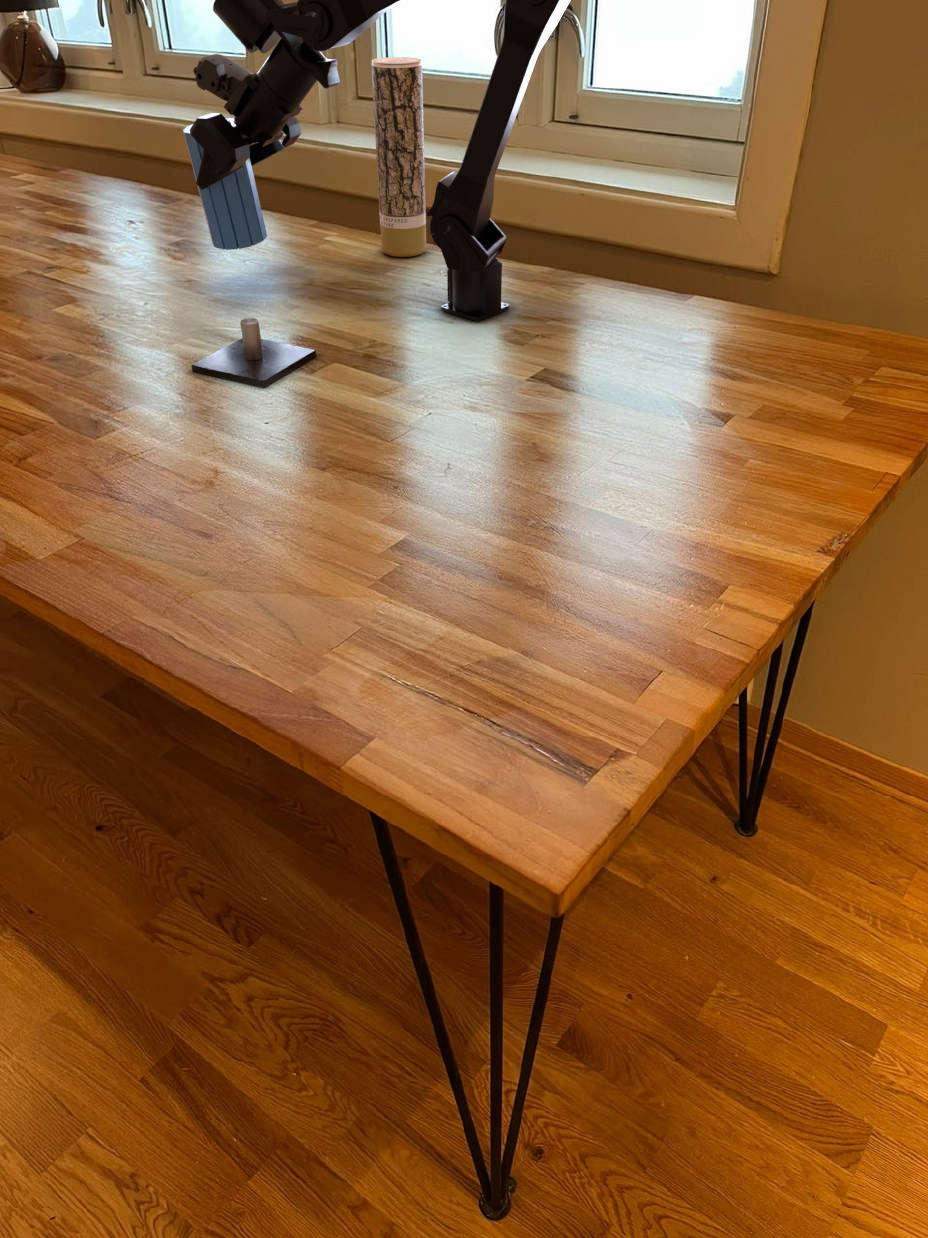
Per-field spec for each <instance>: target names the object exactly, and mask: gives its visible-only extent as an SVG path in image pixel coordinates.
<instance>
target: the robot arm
mask: <svg viewBox="0 0 928 1238" xmlns="http://www.w3.org/2000/svg"><path fill="white" fill-rule="evenodd" d="M405 2H407V0H297V1H294V2H289V3H285V2H284V1H283V0H214V2H213V4H212V11H213V12H214V14H215V15H216V16H217V17H218V18H219V19H220V20H221V22H222V23H223V24H224V25H225V26H226V27H227V28H228V30H229V31H230V33H232V34H233V35H234V37H235V38H236V39H237V40H238V41H239V42H240V43H241V44H242V46H243V47H244V48H245V49H246V50H247V52H248V53H250V54H253V53H255V52H257V51H259V52H260V53H261V54H262V55H263V54H267V53H268V52H270V51H271V50H272V49H273V50H272V51H271V52H270V54H269V55H268V57H267V58H266V59H265V61H264V63H263V64H262V66H261V67H260V69H259V70H258V71H257V72H255V73H252V72H251V71H250V70H248V69H247V68H246V67H244V66H242V65H241V64H239V63H237V62H235V61H234V60H232V59H230V58H228V57H227V56H225V55H223V54H219V53H213V54H210V55H209V54H208V55H205V56H202V57H201V59H199V60H198V64H197V65H196V66H195V67H193V70H192V71H193V75H195V77H194V78H195V82H196V86H197V88H199V89H201V90H202V91H207V92H209V93H211V94H212V95H214V96H216V97H217V98H219V99H221V100H222V101H225V102H226V103H225V104H224V106H223V109H225V110H226V112H227V113H228V114H229V115H230V116H233V117H234V118H233V119H234V121H233V122H234V124H235V125H236V127H233V126H232V125H231V124H230V123H229V122H228V120H227V119H226V118H227V117H225V116H224V114H222V113H215V112H212V113H208V114H205V115H202V116H199V117H197V118H196V119H195V121H194V122H193V123H192V124H193V125H192V124H191V125H192V127H191V128H190V134H191V136H192V137H193V138H194V139H195V140H196V141H197V142H198V143H199V144H200V145H201V147H202V148H203V149H204V151H203V157H202V161H201V165H200V169H199V173H198V177H197V181H196V180H195V184H196V186H197V185H198V186H199V187H200V188H201V189H202V190H203V189H205V188H207V187H209V186H211V185H213V184H215V183H216V182H218V181H220V180H222V179H224V178H225V177H227V176H229V175H231V174H233V173H234V172H236V171H238V170H240V169H242V168H243V167H244V166H243V164H244V163H245V162H246V161H247V159H248V158H249V157H250V161H251V166H252V167H253V166H256V165H257V164H259V163H261V162H262V161H265V160H266V159H269V158H270V157H272V156H274V155H276V154H278V153H280V152H282V151H284V150H285V149H286V148H288V147H290V146H292V145H294V144H295V143H296V141H297V140H298V139H299V138H300V137H301V135H302V126H301V121H300V120H299V119H298V118H297V117H296V116H298V115H299V114H300V113H301V111H302V110H303V107H302V106H301V104H302V103H303V102H304V100H305V99H306V97H307V96H308V94H309V93H310V91H311V90H312V89H313V87H314V86H315V85H316V83H317V82H318V83H319V84H320V85H321V86H322V88H324V89H329V88H332V87H335V86H337V85H339V84H340V82H341V81H340V75H339V72H338V60H337V59H336V58H334V59H330V58H329V59H328V58H326V56H324V54H323V53H322V52H325V51H328V50H331V49H335V48H338V47H343V46H346V45H349V44H351V43H352V42H353V41H355V40H356V39H357V38H359V36H361V35H362V34H364V32H366V31H367V30H368V29H369V28H370V27H372V25H374V23H375V22H377V20H378V19H379V18H380V17H381V16H383V15H384V14H385V13H386V12H388V11H389V10H391V9H393V8H395V7H397V6H398V5H400V4H403V3H405ZM570 2H571V0H505V3H504V9H503V29H502V30H503V31H502V32H503V33H502V39H501V40H502V41H501V45H500V47H499V51H498V54H497V57H496V60H495V62H494V66H493V69H492V72H491V75H490V77H489V81H488V84H487V86H486V90H485V93H484V96H483V99H482V101H481V105H480V108H479V111H478V114H477V117H476V119H475V123H474V126H473V129H472V132H471V135H470V138H469V141H468V144H467V146H466V149H465V152H464V155H463V158H462V162H461V165H460V167H459V169H458V171H457V172H455V171H452V172H451V173H449V174H447V175H446V176H445V177H443V178H442V179H441V180H439V181H438V182H437V183H436V187H435V192H434V199H433V203H432V206H431V207H430V209H429V210H428V211H427V212H426V217H431V218H430V220H429V228H428V229H429V234H430V235H431V237H432V239H433V242H434V244H435V245H436V246H437V247H438V248H439V249H440V250H441V254H442V256H443V260H444V262H445V265H446V268H447V271H446V273H447V274H446V278H447V281H446V282H447V283H446V284H447V286H446V287H447V302H448V303H445V304H443V305H441V306H440V310H441V311H442V312H446V313H450V314H452V315H455V316H459V317H462V318H465V319H468V320H471V321H475V322H479V321H483V320H485V319H487V318H490V317H491V316H495V315H497V314H500V313H502V312H504V311H507V310H509V309H510V304H508V303H506V302H502V287H503V286H502V284H503V283H502V281H503V262H502V261H499V259H498V258H497V257H498V256H499V255H500V254H502V253H503V251H504V248H505V245H506V243H507V240H508V237H507V236H506V234H505V233H504V232H503V231H502V230H501V228H499V227H498V225H497V224H496V223H495V222H494V221H493V219H492V218H491V215H492V210H493V205H494V197H495V196H494V195H495V178H496V174H497V171H498V169H499V165H500V162H501V160H502V157H503V154H504V152H505V148H506V146H507V143H508V141H509V137H510V135H511V132H512V130H513V127H514V124H515V121H516V117H517V115H518V113H519V110H520V107H521V104H522V103H523V99H524V96H525V94H526V90H527V88H528V85H529V82H530V79H531V76H532V75H533V74H532V73H533V72H534V68H535V65H536V63H537V60H538V57H539V55H540V52H541V51H542V49H543V47H544V46H545V44H546V43H547V41H548V39H550V36H551V35H552V33H553V32H554V30H555V28H556V27H557V26H558V24H559V22H560V21H561V18H562V16H563V15H564V13H565V11H566V10H567V7H568V6H569V5H570ZM284 135H285V137H283V136H284ZM282 137H283V139H282ZM281 139H282V141H281Z"/></svg>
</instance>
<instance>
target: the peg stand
mask: <svg viewBox="0 0 928 1238" xmlns="http://www.w3.org/2000/svg"><path fill="white" fill-rule="evenodd" d="M259 322H260V321H259V319H257V318H254V317H246V318H243V319H241V320H240V321H239V323H240V331H241V338H240V339H238V340H236V341H234V342H232V343H230V344H228V345H227V346H224V347H223V348H221V349H219V350H217V351H215V352H213V353H211V354H210V355H208V356H205V357H204V358H202V359H200V360H198V361H196V362H194V363H193V364H191V365H190V366H191V371H192V372H193V373H197V374H201V375H206V376H210V377H215V378H219V379H223V380H228V381H231V382H232V381H233V382H237V383H241V384H245V385H250V386H254V387H260V388H263V389H265V388H267V387H269V386H270V385H271V384H274V383H275V382H277V381H279V380H280V379H282V378H283V377H285V376H286V375H289V374H291V372H293V371H295V370H297V369H299V368H300V367H302V366H303V365H304V364H307V363H308V362H310V361H312V360H313V359H315V358H316V357H317V350H316V349H314V348H313V349H312V348H308V347H303V346H298V345H293V344H289V343H284V342H279V341H273V340H268V339H262V337H261V329H260V323H259Z"/></svg>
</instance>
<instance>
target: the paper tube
mask: <svg viewBox="0 0 928 1238" xmlns="http://www.w3.org/2000/svg"><path fill="white" fill-rule="evenodd" d="M371 78H372V81H371V82H372V99H373V119H374V135H375V152H376V155H375V156H376V172H377V173H376V174H377V175H376V176H377V191H378V193H377V194H378V210H379V225H380V242H381V245H380V246H381V250H382V252H383V253H384V254H386V255H388V256H391V257H396V258H406V257H407V258H408V257H409V258H410V257H416V256H419V255H422V254H423V253H424V252H425V251H426V249H427V212H426V209H427V208H426V207H427V206H426V176H425V175H426V173H425V171H426V169H425V137H424V99H423V98H424V96H423V95H424V94H423V93H424V92H423V63H422V59H421V58H416V57H406V56H405V57H404V56H392V57H391V56H389V57H378V58H374V59H371Z"/></svg>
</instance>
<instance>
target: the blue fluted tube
mask: <svg viewBox="0 0 928 1238" xmlns="http://www.w3.org/2000/svg"><path fill="white" fill-rule="evenodd" d="M225 118H226V119H227V120H228V122H229V123H230V124H231V125H232V126H233V127H236V125H235V124H234V122H233V121H234V119H235V118H232V117H225ZM193 124H194V123H192V124H189V125H187V126H186V127H184V128H182V129H183V130H182V133H183V134H182V135H183V137H184V141H185V144H186V148H187V152H188V156H189V160H190V165H191V167H192V171H193V175H194V178H195V182H196V181H197V177H198V173H199V169H200V165H201V161H202V157H203V151H204V149H203V148H202V147H201V145H200V144H199V143H198V142H197V141H196V140H195V139H194V138H193V137H192V136H191V134H190V128H191V127H192V125H193ZM243 166H244V167H243V168H242V169H240V170H238V171H236V172H234V173H233V174H231V175H229V176H227V177H225V178H224V179H222V180H220V181H218V182H216V183H215V184H213V185H211V186H209V187H207V188H205V189H203V190H202V189H201V188H200V187H199V186H198V185H197V184H196V186H197V190H198V194H199V198H200V201H201V205H202V208H203V213H204V217H205V221H206V224H207V228H208V233H209V235H210V240H211V243H212V246H213V247H214V248H216V249H219V250H223V251H224V250H226V251H227V250H230V251H231V250H238V249H239V250H242V249H246V248H251V247H252V246H256V245H259V244H260V243H262V242H264V241H265V240H266V239H267V237H268V233H267V229H266V225H265V219H264V215H263V210H262V206H261V202H260V198H259V194H258V193H259V192H258V188H257V184H256V180H255V174H254V171H253V166H251V161H250V157H249V158H248V159H247V161H246V162H245V163H244V164H243Z"/></svg>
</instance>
